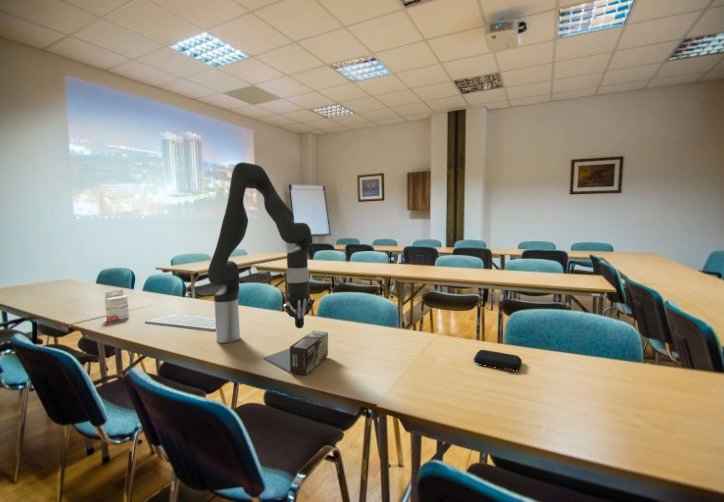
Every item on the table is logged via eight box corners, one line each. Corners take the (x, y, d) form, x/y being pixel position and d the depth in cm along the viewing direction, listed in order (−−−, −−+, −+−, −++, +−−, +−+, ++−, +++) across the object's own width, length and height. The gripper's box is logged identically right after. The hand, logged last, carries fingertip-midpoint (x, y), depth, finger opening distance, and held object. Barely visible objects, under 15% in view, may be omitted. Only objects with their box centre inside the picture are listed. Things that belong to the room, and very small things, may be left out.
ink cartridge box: (110, 322, 170) (107, 293, 169) (106, 320, 173) (103, 292, 172) (129, 317, 177) (127, 290, 176) (125, 316, 180) (123, 289, 179)
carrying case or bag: (471, 366, 116) (519, 376, 108) (472, 358, 115) (519, 367, 108) (477, 355, 125) (522, 363, 118) (478, 347, 124) (522, 354, 117)
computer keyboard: (240, 321, 171) (240, 318, 170) (212, 333, 153) (212, 329, 153) (176, 313, 186) (176, 310, 185) (144, 324, 168) (144, 321, 168)
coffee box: (312, 329, 126) (289, 345, 111) (328, 331, 123) (306, 347, 108) (313, 353, 126) (289, 372, 111) (328, 356, 124) (306, 375, 109)
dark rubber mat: (263, 358, 124) (263, 357, 124) (293, 348, 133) (293, 347, 133) (292, 374, 111) (292, 372, 111) (322, 361, 121) (322, 360, 121)
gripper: (306, 276, 127) (308, 321, 128) (275, 281, 117) (277, 330, 119) (319, 278, 121) (320, 325, 123) (288, 284, 112) (290, 335, 114)
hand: (299, 327), depth 121 cm, fingers closed
